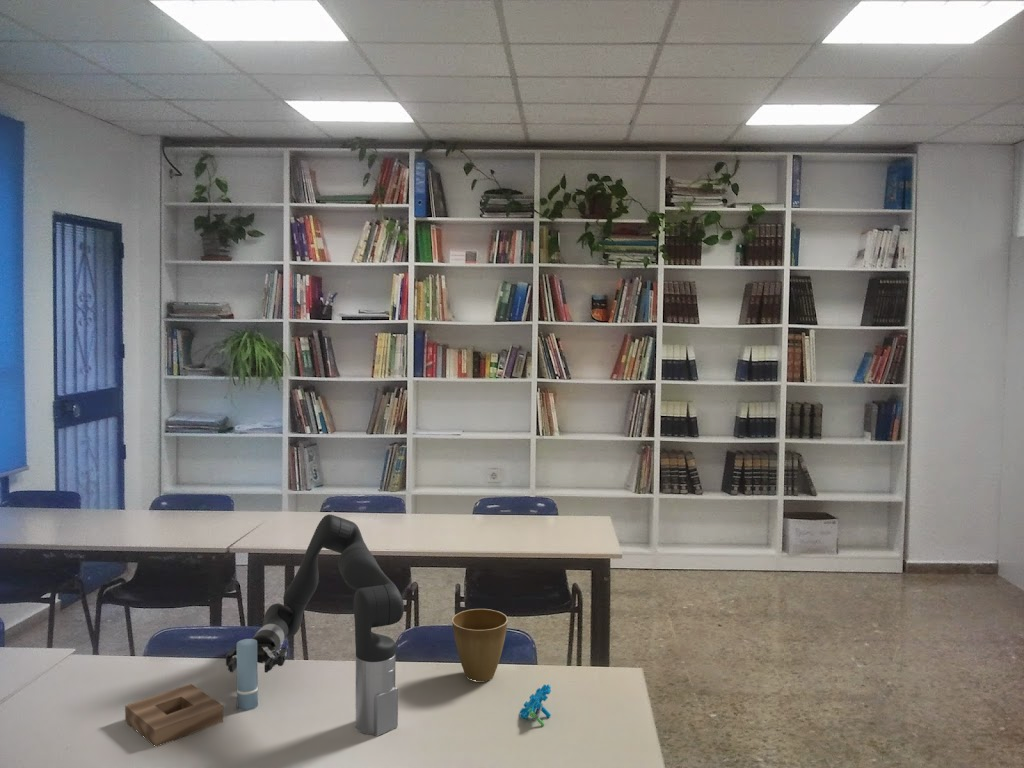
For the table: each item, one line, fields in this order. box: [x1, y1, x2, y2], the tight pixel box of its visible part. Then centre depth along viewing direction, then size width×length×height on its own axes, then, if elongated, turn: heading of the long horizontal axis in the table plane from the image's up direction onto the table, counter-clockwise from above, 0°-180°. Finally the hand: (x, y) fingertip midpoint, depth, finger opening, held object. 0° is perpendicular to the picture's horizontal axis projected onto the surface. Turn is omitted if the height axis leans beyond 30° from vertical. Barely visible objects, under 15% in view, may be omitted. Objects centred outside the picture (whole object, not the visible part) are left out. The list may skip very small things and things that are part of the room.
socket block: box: [124, 683, 224, 747], centre depth 191 cm, size 16×16×4 cm
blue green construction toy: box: [519, 684, 552, 727], centre depth 195 cm, size 11×6×10 cm
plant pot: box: [451, 608, 508, 682], centre depth 217 cm, size 15×15×16 cm
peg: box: [236, 638, 259, 711], centre depth 199 cm, size 5×5×16 cm
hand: (248, 668), depth 199 cm, fingers open, 8 cm apart
